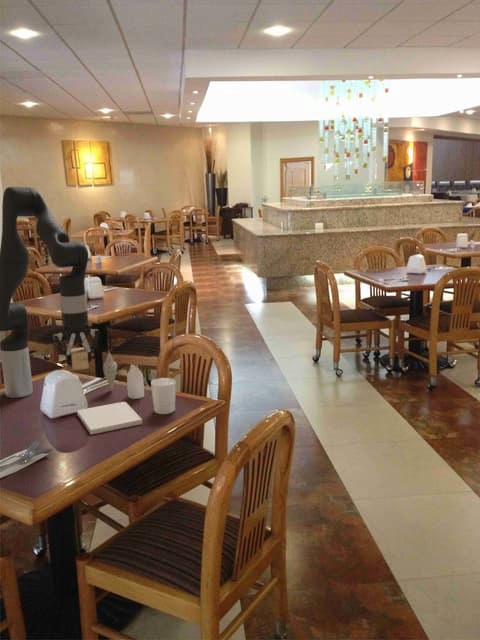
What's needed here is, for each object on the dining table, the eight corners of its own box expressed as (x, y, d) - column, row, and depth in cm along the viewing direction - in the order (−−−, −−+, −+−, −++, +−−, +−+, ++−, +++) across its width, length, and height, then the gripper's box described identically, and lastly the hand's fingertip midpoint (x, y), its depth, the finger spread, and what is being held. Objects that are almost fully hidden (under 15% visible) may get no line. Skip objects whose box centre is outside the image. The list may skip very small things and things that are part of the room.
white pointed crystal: (145, 362, 200) (136, 367, 195) (147, 395, 203) (137, 400, 198) (132, 360, 203) (122, 364, 198) (134, 392, 205) (124, 397, 201)
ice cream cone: (110, 394, 204) (108, 353, 201) (101, 391, 207) (98, 351, 204) (121, 390, 208) (119, 350, 205) (112, 387, 211) (109, 348, 208)
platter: (77, 414, 186) (77, 410, 185) (125, 405, 193) (125, 401, 192) (90, 434, 170) (90, 429, 170) (142, 423, 177) (142, 419, 177)
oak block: (69, 365, 175) (68, 349, 174) (84, 362, 177) (83, 347, 176) (73, 370, 170) (72, 354, 168) (88, 367, 172) (87, 351, 170)
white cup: (165, 404, 193) (163, 376, 191) (181, 409, 188) (180, 380, 186) (147, 411, 187) (145, 382, 185) (164, 417, 182) (162, 387, 180)
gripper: (95, 305, 176) (99, 358, 179) (47, 310, 170) (52, 365, 173) (101, 309, 169) (105, 364, 173) (51, 314, 163) (56, 371, 167)
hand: (79, 364), depth 173 cm, fingers closed on oak block, 4 cm apart
